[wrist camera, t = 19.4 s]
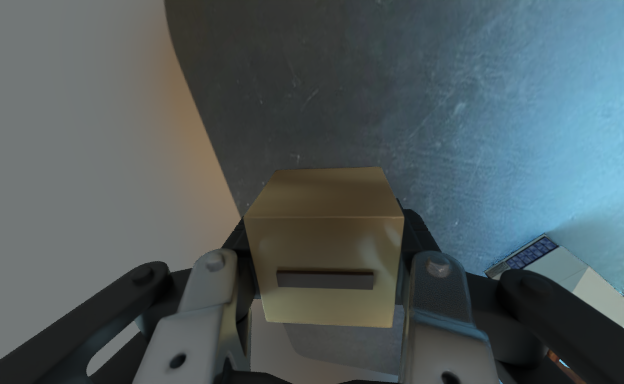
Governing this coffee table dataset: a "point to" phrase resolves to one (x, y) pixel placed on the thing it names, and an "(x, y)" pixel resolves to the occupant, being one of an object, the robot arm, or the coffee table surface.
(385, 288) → the tan cube
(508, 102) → the coffee table surface
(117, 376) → the robot arm
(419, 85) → the coffee table surface
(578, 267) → the building
